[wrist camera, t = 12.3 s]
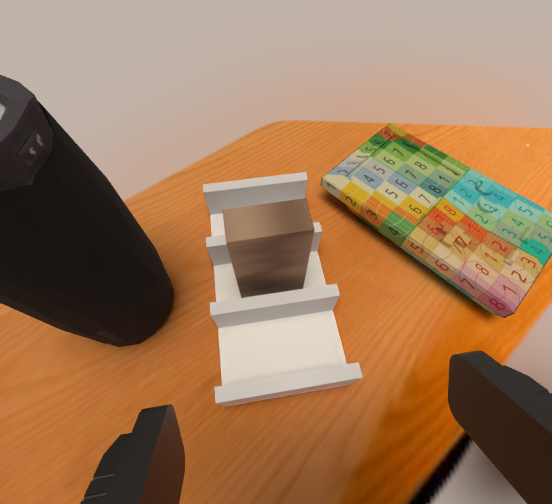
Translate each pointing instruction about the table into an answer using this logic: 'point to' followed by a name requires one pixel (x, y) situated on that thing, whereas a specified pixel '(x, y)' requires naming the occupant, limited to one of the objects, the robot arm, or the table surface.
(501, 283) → the puzzle game
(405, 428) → the table surface
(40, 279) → the portable speaker
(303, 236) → the walnut block
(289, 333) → the slotted rack
